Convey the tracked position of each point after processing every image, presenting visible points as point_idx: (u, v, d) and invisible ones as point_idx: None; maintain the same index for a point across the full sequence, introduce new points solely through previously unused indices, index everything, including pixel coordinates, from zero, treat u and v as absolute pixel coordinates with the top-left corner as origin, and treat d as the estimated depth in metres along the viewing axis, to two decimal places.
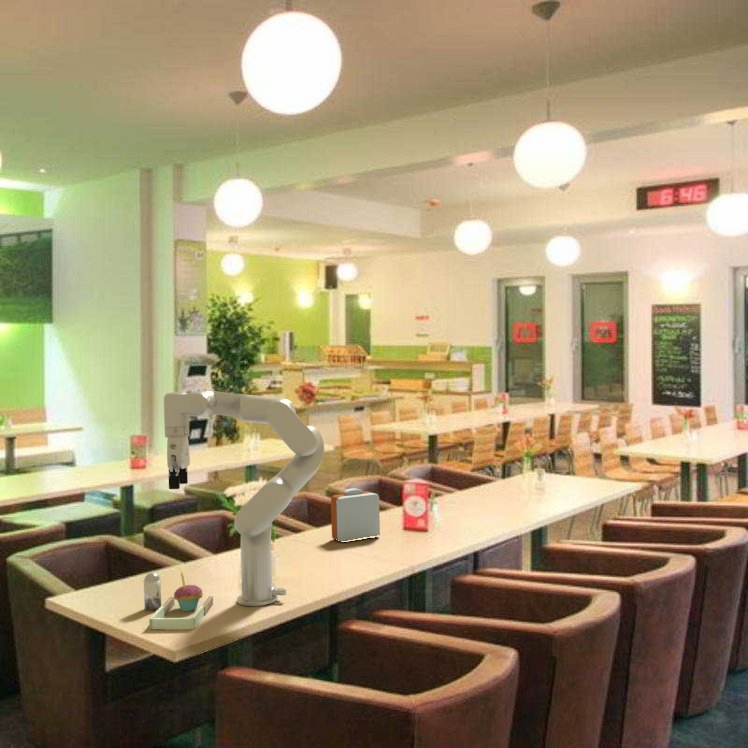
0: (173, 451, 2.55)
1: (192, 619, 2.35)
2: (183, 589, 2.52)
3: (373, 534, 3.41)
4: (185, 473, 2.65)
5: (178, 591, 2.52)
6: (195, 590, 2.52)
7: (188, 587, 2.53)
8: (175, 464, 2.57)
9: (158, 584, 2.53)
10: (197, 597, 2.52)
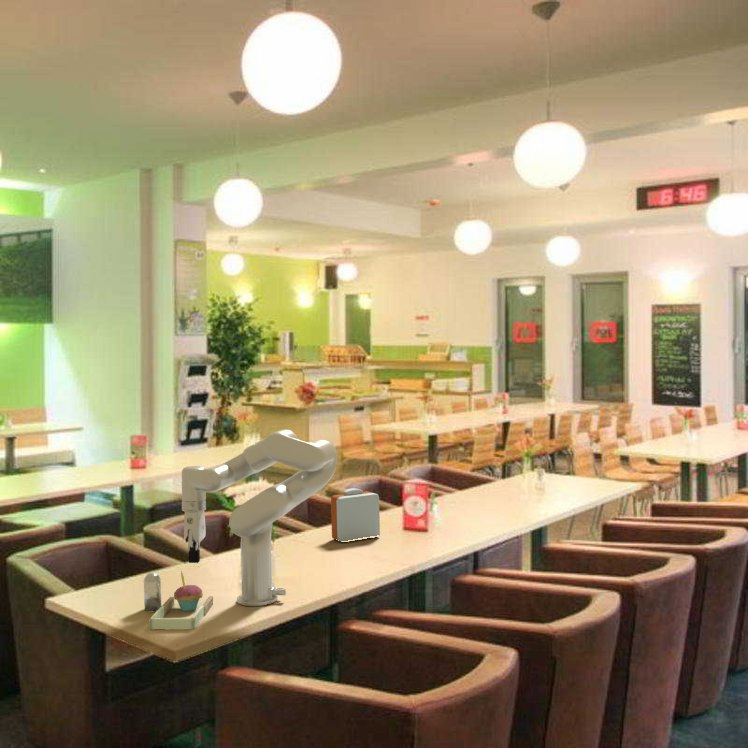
0: (190, 525, 2.60)
1: (192, 619, 2.35)
2: (183, 589, 2.52)
3: (373, 534, 3.41)
4: None
5: (178, 591, 2.52)
6: (195, 590, 2.52)
7: (188, 587, 2.53)
8: None
9: (158, 584, 2.53)
10: (197, 597, 2.52)
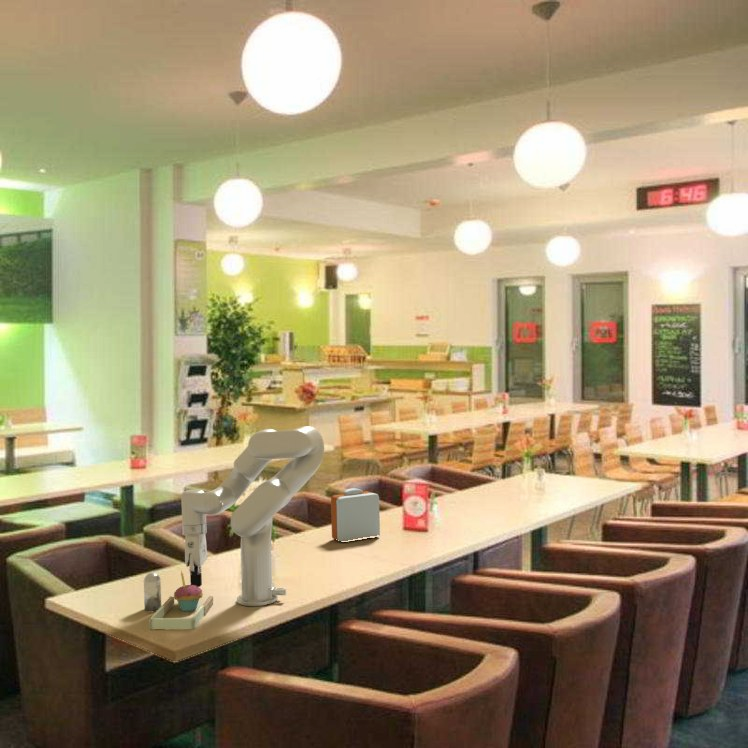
0: (191, 549, 2.59)
1: (192, 619, 2.35)
2: (183, 589, 2.52)
3: (373, 534, 3.41)
4: None
5: (178, 591, 2.52)
6: (195, 590, 2.52)
7: (188, 587, 2.53)
8: None
9: (158, 584, 2.53)
10: (197, 597, 2.52)
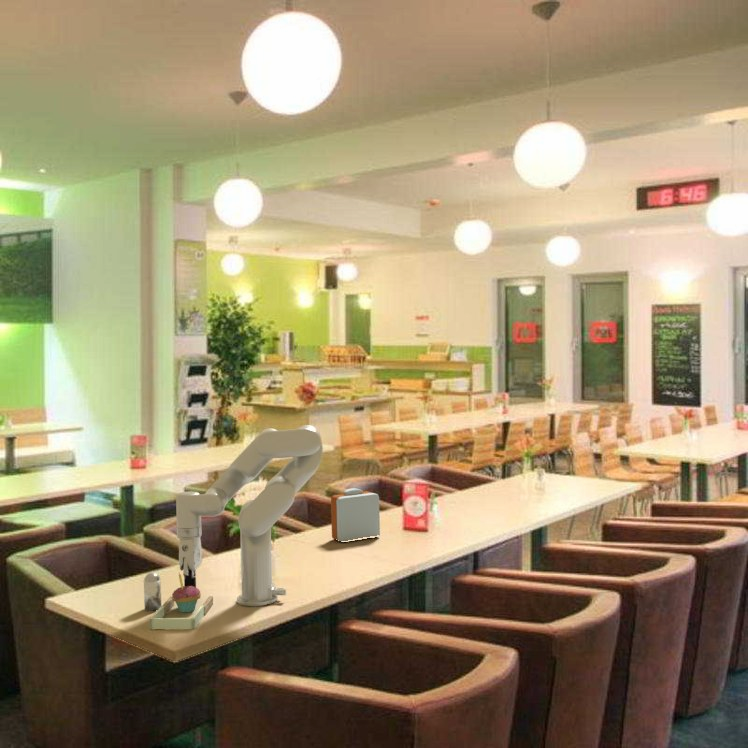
0: (185, 553, 2.53)
1: (192, 619, 2.35)
2: (181, 590, 2.50)
3: (373, 534, 3.41)
4: None
5: (176, 593, 2.50)
6: (193, 591, 2.51)
7: (186, 588, 2.51)
8: None
9: (158, 584, 2.53)
10: (196, 598, 2.50)
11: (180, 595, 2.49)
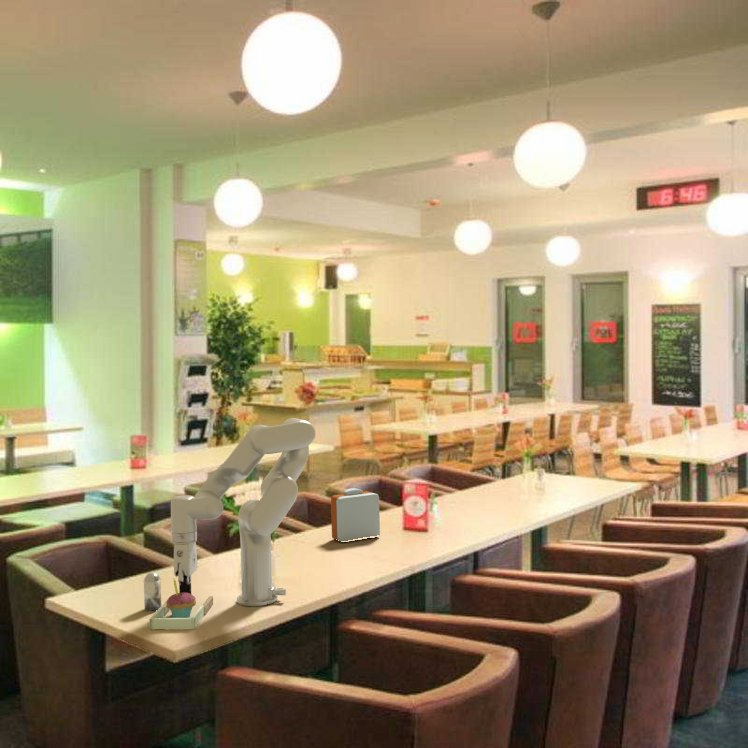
0: (180, 559, 2.47)
1: (192, 619, 2.35)
2: (176, 597, 2.44)
3: (373, 534, 3.41)
4: None
5: (171, 599, 2.44)
6: (188, 598, 2.44)
7: (181, 595, 2.45)
8: None
9: (158, 584, 2.53)
10: (191, 605, 2.44)
11: (175, 601, 2.42)
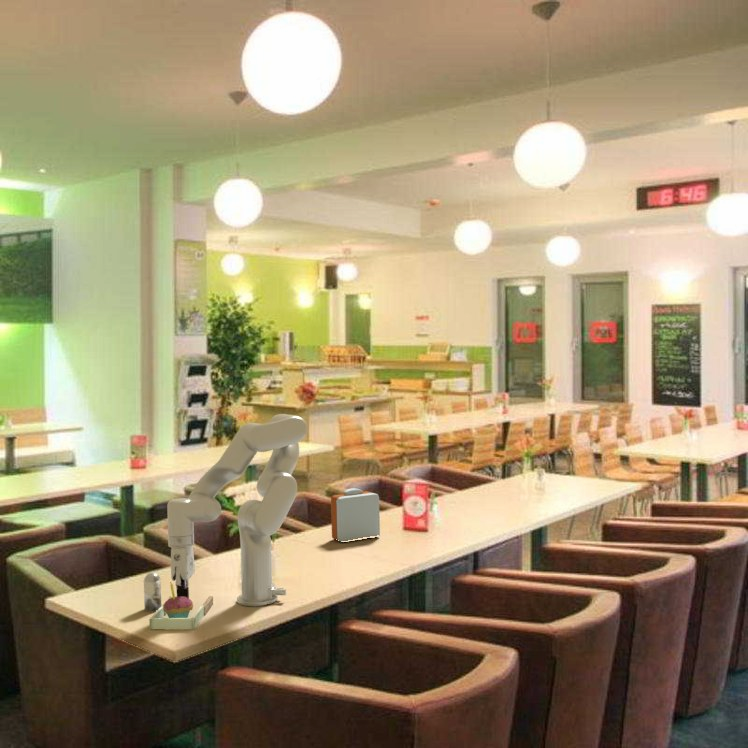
0: (177, 562, 2.43)
1: (192, 619, 2.35)
2: (173, 601, 2.40)
3: (373, 534, 3.41)
4: None
5: (167, 603, 2.40)
6: (185, 602, 2.41)
7: (178, 599, 2.41)
8: None
9: (158, 584, 2.53)
10: (187, 609, 2.40)
11: (171, 606, 2.39)
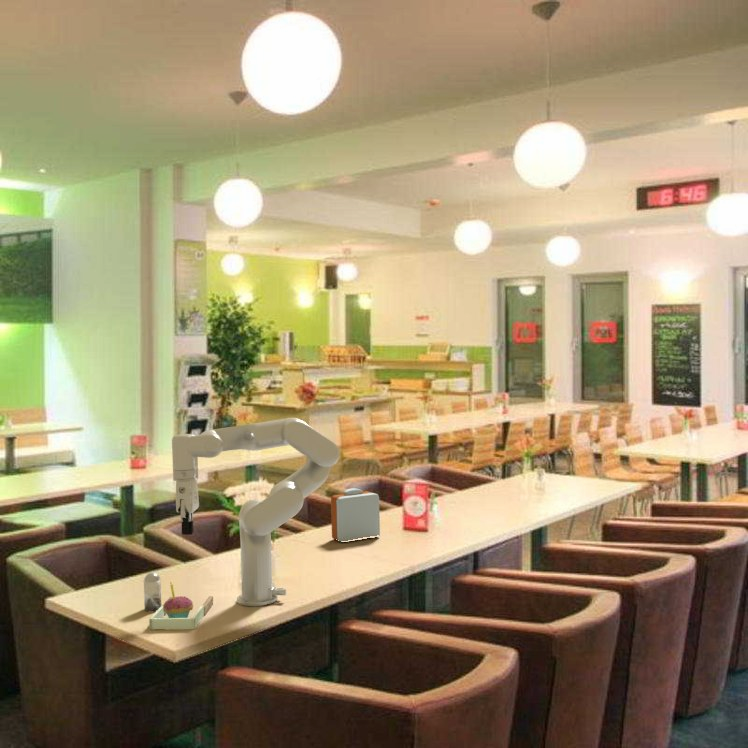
0: (182, 495, 2.49)
1: (192, 619, 2.35)
2: (173, 601, 2.40)
3: (373, 534, 3.41)
4: None
5: (167, 603, 2.40)
6: (185, 602, 2.41)
7: (178, 599, 2.41)
8: None
9: (158, 584, 2.53)
10: (187, 609, 2.40)
11: (171, 606, 2.39)
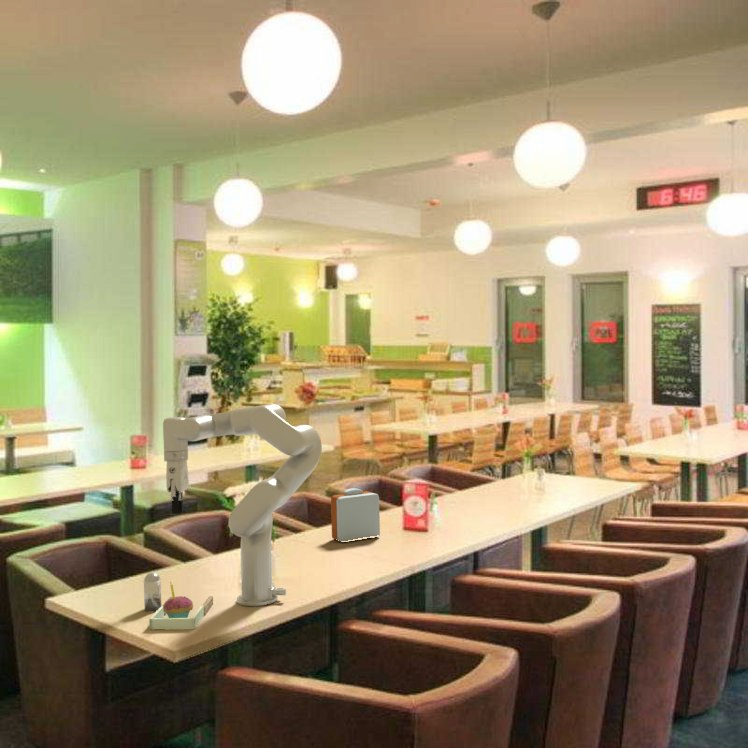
0: (172, 475, 2.61)
1: (192, 619, 2.35)
2: (173, 601, 2.40)
3: (373, 534, 3.41)
4: None
5: (167, 603, 2.40)
6: (185, 602, 2.41)
7: (178, 599, 2.41)
8: None
9: (158, 584, 2.53)
10: (187, 609, 2.40)
11: (171, 606, 2.39)
